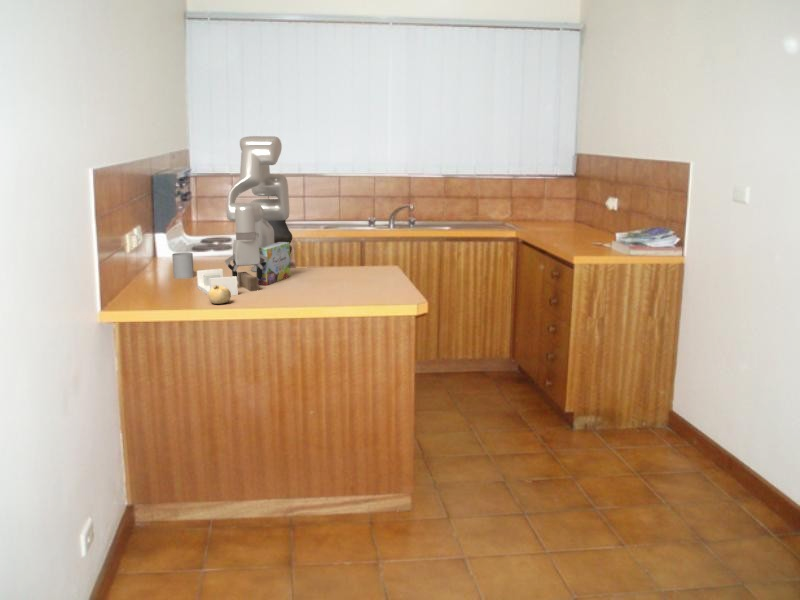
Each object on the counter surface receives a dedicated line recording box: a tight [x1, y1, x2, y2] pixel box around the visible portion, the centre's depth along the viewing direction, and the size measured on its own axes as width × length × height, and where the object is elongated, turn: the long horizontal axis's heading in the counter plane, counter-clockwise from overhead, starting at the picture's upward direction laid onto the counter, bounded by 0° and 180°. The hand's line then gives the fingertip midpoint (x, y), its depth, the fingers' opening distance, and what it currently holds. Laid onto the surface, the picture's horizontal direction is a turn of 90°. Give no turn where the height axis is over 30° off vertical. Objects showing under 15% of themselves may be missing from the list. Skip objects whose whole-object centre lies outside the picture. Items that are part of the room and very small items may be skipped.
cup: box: [171, 252, 195, 280], centre depth 332 cm, size 8×8×10 cm
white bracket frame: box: [196, 268, 239, 296], centre depth 302 cm, size 10×21×7 cm, turn 28°
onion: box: [207, 285, 232, 305], centre depth 280 cm, size 8×8×7 cm
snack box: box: [257, 242, 291, 286], centre depth 323 cm, size 21×6×15 cm, turn 163°
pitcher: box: [268, 219, 293, 244], centre depth 390 cm, size 21×22×25 cm
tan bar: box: [237, 271, 259, 292], centre depth 310 cm, size 3×16×5 cm, turn 28°
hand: (247, 279), depth 309 cm, fingers open, 9 cm apart
